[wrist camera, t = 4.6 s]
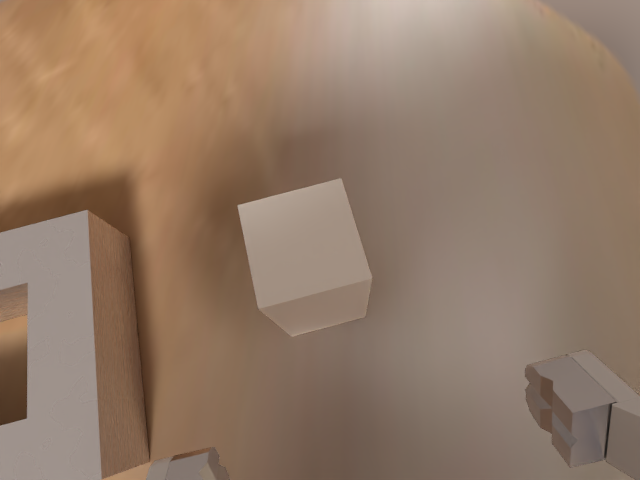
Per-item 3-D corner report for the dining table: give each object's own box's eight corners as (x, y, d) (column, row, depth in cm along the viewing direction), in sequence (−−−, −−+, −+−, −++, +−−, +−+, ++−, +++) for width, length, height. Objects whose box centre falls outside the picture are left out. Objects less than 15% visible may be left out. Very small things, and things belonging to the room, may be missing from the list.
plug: (365, 317, 21) (372, 278, 14) (291, 336, 21) (257, 309, 14) (344, 247, 23) (341, 177, 15) (275, 266, 23) (237, 205, 15)
